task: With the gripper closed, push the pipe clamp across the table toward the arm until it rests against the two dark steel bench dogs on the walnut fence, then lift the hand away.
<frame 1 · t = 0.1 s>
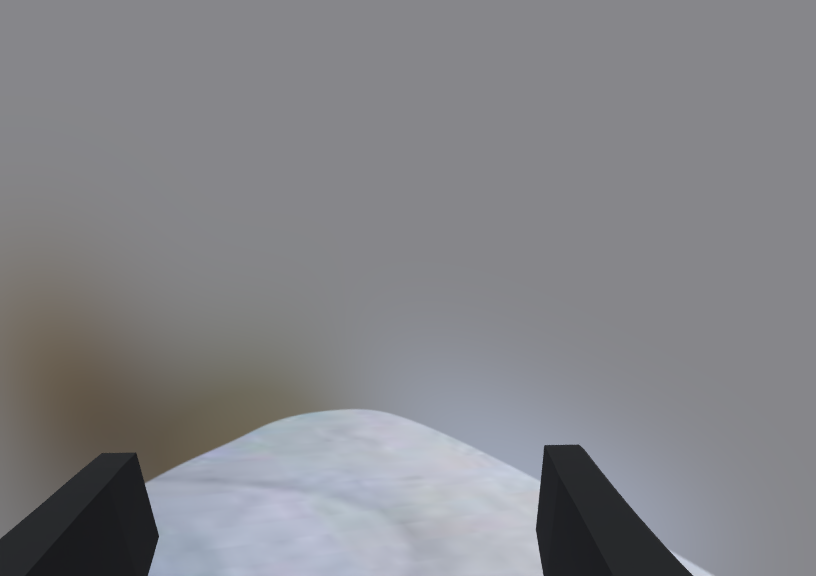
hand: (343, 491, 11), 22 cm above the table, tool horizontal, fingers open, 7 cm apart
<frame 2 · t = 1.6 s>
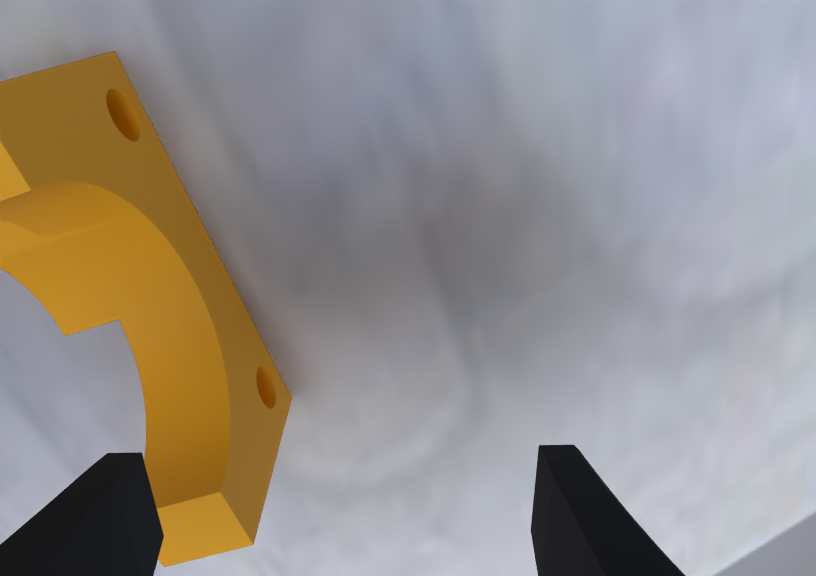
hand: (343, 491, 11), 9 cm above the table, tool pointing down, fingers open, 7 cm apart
pipe clamp: (156, 263, 20), on the table
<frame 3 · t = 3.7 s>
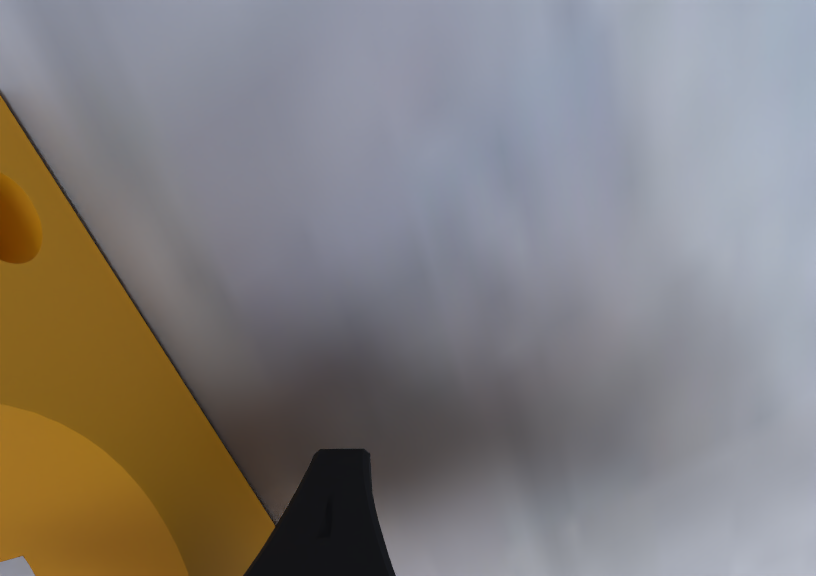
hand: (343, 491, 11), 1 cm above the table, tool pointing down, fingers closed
pipe clamp: (100, 423, 12), on the table, touching gripper
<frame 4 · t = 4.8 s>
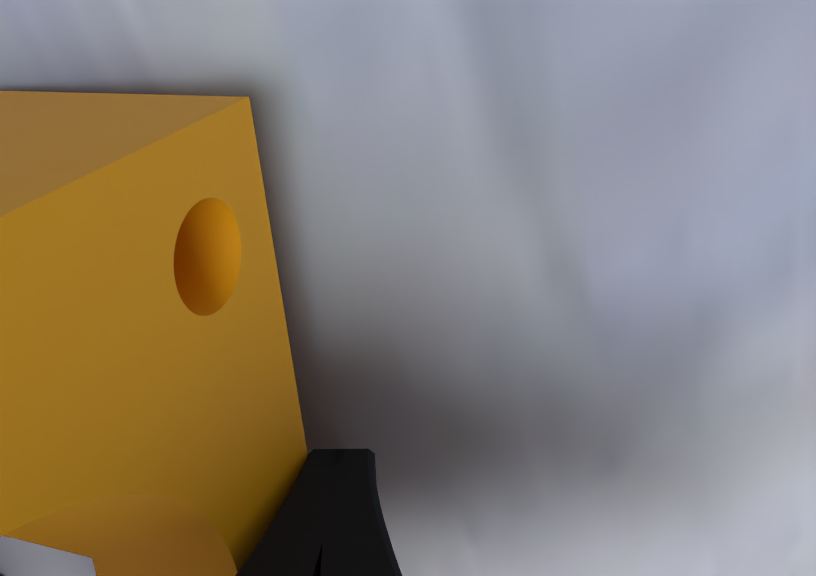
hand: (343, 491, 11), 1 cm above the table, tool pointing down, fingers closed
pipe clamp: (202, 425, 12), on the table, touching gripper
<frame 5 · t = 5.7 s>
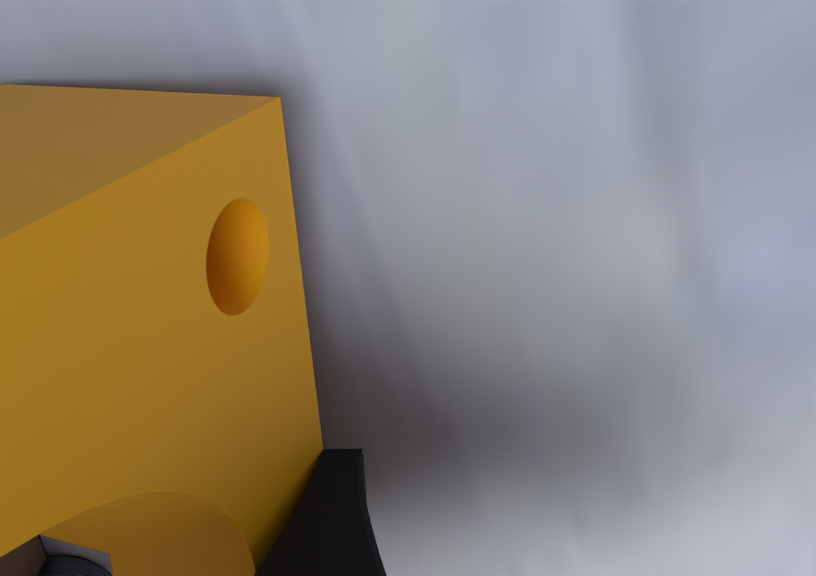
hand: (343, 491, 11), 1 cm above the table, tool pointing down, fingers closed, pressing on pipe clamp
pipe clamp: (218, 423, 12), on the table, touching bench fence, gripper
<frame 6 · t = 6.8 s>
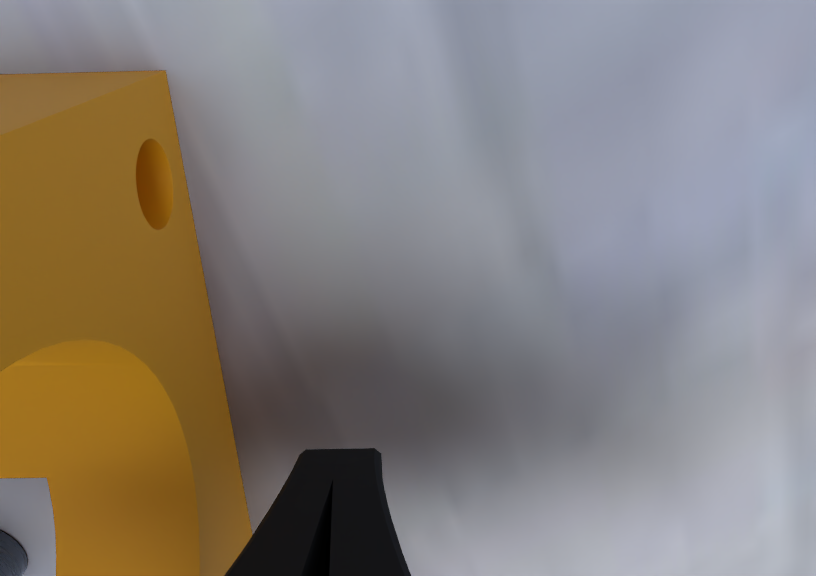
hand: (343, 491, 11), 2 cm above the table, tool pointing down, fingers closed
pipe clamp: (124, 370, 13), on the table
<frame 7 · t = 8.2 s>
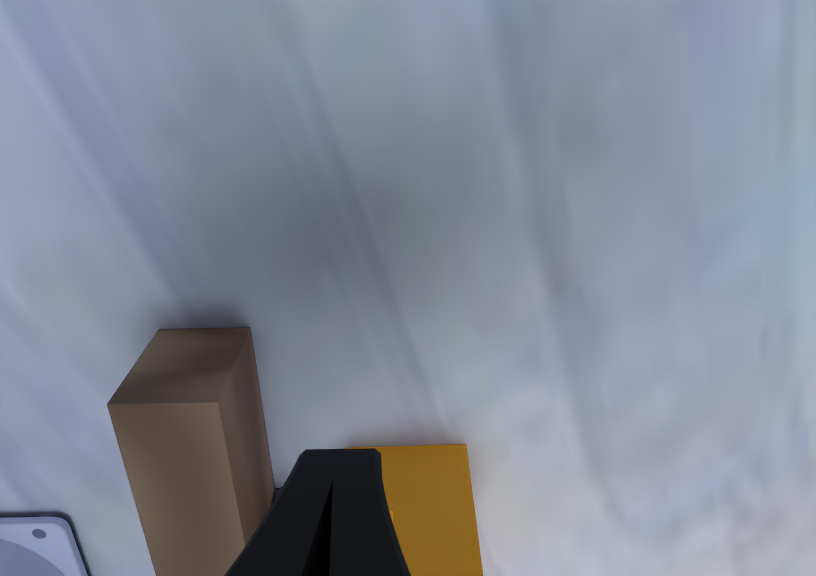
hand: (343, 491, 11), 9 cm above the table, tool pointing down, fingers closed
pipe clamp: (411, 553, 26), on the table
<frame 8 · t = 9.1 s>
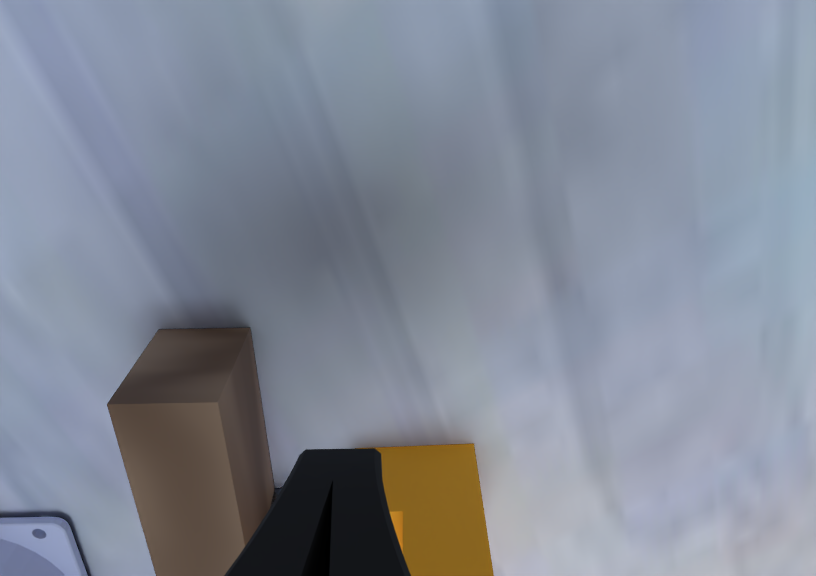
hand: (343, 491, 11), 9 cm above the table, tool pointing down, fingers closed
pipe clamp: (420, 553, 26), on the table
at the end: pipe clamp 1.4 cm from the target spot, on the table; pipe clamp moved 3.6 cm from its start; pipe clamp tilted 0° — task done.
